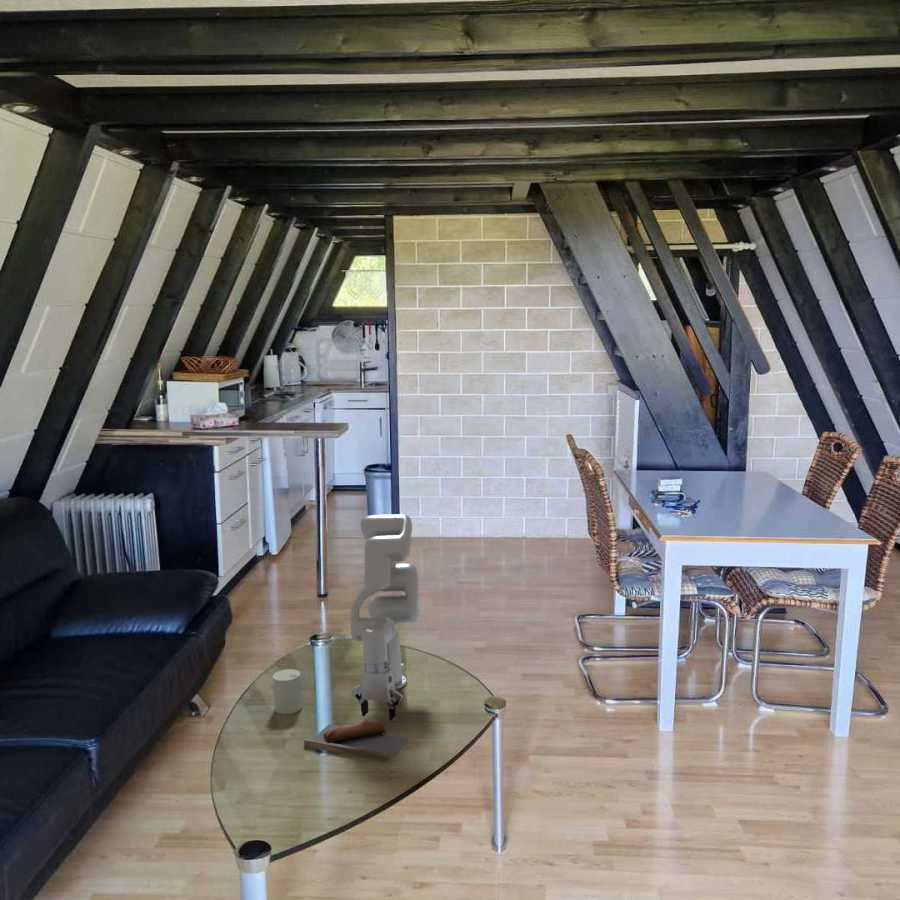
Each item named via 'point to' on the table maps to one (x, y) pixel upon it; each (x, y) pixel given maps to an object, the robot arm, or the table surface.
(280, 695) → the can
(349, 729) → the brown elongated rounded piece
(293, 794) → the table surface
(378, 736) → the mat
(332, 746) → the walnut rail
